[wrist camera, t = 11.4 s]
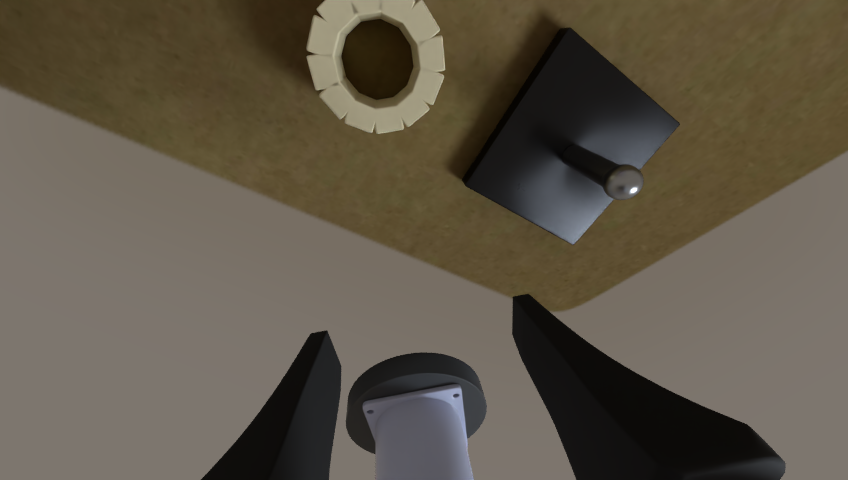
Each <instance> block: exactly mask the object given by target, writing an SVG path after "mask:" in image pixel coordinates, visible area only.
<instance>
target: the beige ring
mask: <svg viewBox="0 0 848 480" xmlns="http://www.w3.org/2000/svg"><path fill="white" fill-rule="evenodd" d="M414 3H415V0H324V1H323V2H322V3H321V4H320V5H319V6H318V7H317V11H318V13H319V14H320V15H321V16H322V18H321V17H319V16H317V15H314V16H313V18H312V23H311V28H310V33H309V37H308V42H307V47H306V49H307V51H309V52H311V53H313V54H314V55H307V56H306V58H307V62H308V65H309V69H310V73H311V76H312V80H313V83H314V87H315V90H323V89H324V90H323V91H322V92H321V93H320V94H319V97H320V98H321V99H322V100H323V101H324V103H325V104H326V105H327V106H328V107H329V108H330V109H331V110H332V112H333V113H334V114H335V115H336V116H337V117H338V118H339V119H342V118H343V117H344V116H345V115H346V117H345V121H344V123H345V124H348V125H350V126H353V127H356V128H358V129H361V130H363V131H366V132H369V133H372V132H373V129H374V126H375V131H376V133H377V134H380V133H386V132H392V131H398V130H403V128H404V126H403V122H404V124H405V125H406V126H407V127H409V126H411V125H412V124H413V123H414V122H415V121H417V120H418V119H419V118H420V117H421V116H423V115H424V114H425V113H426V112H427V111H429V107H428V105H427V104H426V103H428V104H431V105H433V104H434V101H435V99H436V96H437V94H438V91H439V89H440V86H441V84H442V81H443V79H444V75H442V74H440V73H438V72H439V71H444V70H445V61H444V49H443V37H442V36H435V35H436V34H437V33H438V32H439V31H440V28H439V26H438V25H437V23H436V21H435V20H434V18H433V16H432V15H431V13H430V12H429V10H428V8H427V7H426V5H425V3H424V2H423V0H419V1H418V2H417V3H416V4H415V5H414ZM376 19H382V20H384V21H386V22H388V23H390V24H392V25H394V26H396V27H398V28H399V29H400V30H401V32H402V33H403V35H404V36H405V38H406V39H407V41H408V42H409V44H410V45H411V51H412V59H413V66H414V67H413V70H412V72H411V75H410V78H409V81H408V84H407V86H406V87H404V88H403V89H402V90H401V91H400V92H399V93H398V94H396V95H395V96H394V97H392V98H385V99H379V100H375V99H373V98H370V97H368V96H365V95H363V94H361V93H359V92H358V91H357V90H356V89H355V88H354V86H353V85H352V84H351V83H350V81H349V80H348V79H347V78H346V75H345V70H344V66H343V61H342V57H341V55H342V51H343V47H344V44H345V40H346V36H347V35H348V34H349V33H350V32H351V31H352V30H353V29H354V28H355V27H356V26H357V25H358V24H359V23H360V22H362V21H369V20H376ZM425 102H426V103H425Z"/></svg>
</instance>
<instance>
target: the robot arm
mask: <svg viewBox="0 0 848 480" xmlns="http://www.w3.org/2000/svg"><path fill="white" fill-rule="evenodd" d="M512 334H513V337H514V340H515V343H516V346H517V348H518V351H519V354H520V356H521V359H522V361H523V363H524V365H525V366H526V369H527V371H528V373H529V374H530V377H531V378H532V380H533V382H534V384H535V386H536V388H537V390H538V392H539V394H540V396H541V398H542V400H543V402H544V404H545V406H546V408H547V410H548V411H549V414H550V416H551V418H552V420H553V422H554V424H555V427H556V429H557V432H558V434H559V437H560V439H561V441H562V444H563V446H564V449H565V451H566V454H567V456H568V459H569V462H570V464H571V466H572V469H573V472H574V475H575V477H576V480H780V479H781V477H782V476H783V474H784V473H785V462H784V461H783V460H782V459H781V457H780V456H779V455H778V454H777V453H776V452H775V451H774V450H773V449H772V448H771V447H770V446H769V445H768V444H767V443H766V442H765V441H764V440H763V439H762V438H761V437H760V436H759V435H758V434H757V433H756V432H755V431H754V430H753V429H752V428H751V427H749V426H748V425H747V424H745V423H742V422H740V421H737V420H734V419H732V418H730V417H728V416H725V415H723V414H720V413H718V412H715V411H713V410H711V409H708V408H705V407H703V406H701V405H699V404H697V403H695V402H692V401H690V400H688V399H686V398H684V397H682V396H680V395H677V394H675V393H673V392H671V391H669V390H667V389H665V388H663V387H661V386H659V385H657V384H655V383H654V382H652V381H650V380H648V379H646V378H644V377H642V376H640V375H639V374H637V373H635V372H633V371H632V370H630V369H628V368H626V367H624V366H623V365H622V364H620V363H618V362H617V361H615V360H613V359H612V358H610V357H609V356H607V355H606V354H604V353H603V352H601V351H600V350H598V349H597V348H595V347H594V346H593V345H591V344H590V343H588V342H587V341H586V340H584V339H583V338H581V337H580V336H579V335H577V334H576V333H575V332H574V331H572V330H571V329H570V328H569V327H567V326H566V325H565V324H563V323H562V322H561V321H560V320H558V319H557V318H556V317H555V316H554V315H553V314H551V313H550V312H549V311H548V310H547V309H545V308H544V307H543V306H542V305H541V304H540V303H539V302H537V301H536V300H535V299H534V298H533V297H532V296H530V295H529V294H525V295H520V296H514V297H513V329H512ZM340 391H341V365H340V362H339V359H338V357H337V354H336V352H335V349H334V346H333V344H332V341H331V339H330V337H329V334H328V331H322V332H316V333H311V334H310V336H309V337H308V339H307V340H306V342H305V344H304V345H303V347H302V349H301V350H300V352H299V354H298V355H297V357H296V359H295V360H294V362H293V363H292V365H291V367H290V368H289V370H288V371H287V373H286V374H285V376H284V377H283V379H282V380H281V382H280V384H279V385H278V387H277V388H276V390H275V391H274V392H273V394H272V395H271V397H270V398H269V399H268V401H267V402H266V404H265V405H264V406H263V408H262V409H261V411H260V412H259V413H258V415H257V416H256V417H255V419H254V420H253V421H252V422H251V424H250V425H249V426H248V427H247V429H246V430H245V431H244V432H243V434H242V435H241V436H240V437H239V438H238V440H237V441H236V442H235V443H234V444H233V445H232V447H231V448H230V449H229V450H228V451H227V452H226V453H225V454H224V455H223V457H222V458H221V459H220V460H219V461H218V462H217V463H216V464H215V465H214V467H212V469H211V470H210V471H209V472H208V473H207V474H206V475H205V476H204V477H203V478H202V479H201V480H329V468H330V460H331V452H332V446H333V439H334V433H335V426H336V420H337V413H338V406H339V399H340ZM363 411H364V414H365V416H366V419H367V422H368V424H369V427H370V429H371V432H372V435H373V437H374V440H375V442H376V451H375V455H376V456H375V462H376V463H375V480H474V479H473V474H472V469H471V465H470V460H469V456H468V451H467V447H468V444H467V434H466V425H465V417H464V408H463V399H462V390H461V386H460V385H459V384H451V385H446V386H441V387H435V388H430V389H425V390H420V391H414V392H409V393H404V394H399V395H393V396H388V397H383V398H378V399H372V400H367V401H365V402H364V403H363Z"/></svg>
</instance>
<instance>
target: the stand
mask: <svg viewBox="0 0 848 480" xmlns="http://www.w3.org/2000/svg"><path fill="white" fill-rule="evenodd" d="M679 125H680V123H679V122H678V121H676V120H675V119H674V118H673V117H672V116H671V115H670V114H668V113H667V112H666V111H665V110H664V109H663V108H662V107H660V106H659V105H658V104H657V103H656V102H655V101H654V100H652V99H651V98H650V97H649V96H648V95H647V94H646V93H644V92H643V91H642V90H641V89H640V88H639V87H638V86H636V85H635V84H634V83H633V82H632V81H631V80H630V79H628V78H627V77H626V76H625V75H624V74H623V73H622V72H620V71H619V70H618V69H617V68H616V67H615V66H614V65H612V64H611V63H610V62H609V61H608V60H607V59H606V58H604V57H603V56H602V55H601V54H600V53H599V52H598V51H596V50H595V49H594V48H593V47H592V46H591V45H590V44H588V43H587V42H586V41H585V40H584V39H583V38H582V37H580V36H579V35H578V34H577V33H576V32H575V31H574V30H572V29H571V28H561V29H560V30H559V31H558V33H557V34H556V36H555V37H554V39H553V40H552V42H551V43H550V45H549V47H548V48H547V50H546V51H545V53H544V54H543V56H542V57H541V59H540V60H539V62H538V63H537V65H536V67H535V68H534V70H533V71H532V73H531V74H530V76H529V77H528V79H527V80H526V82H525V83H524V85H523V87H522V88H521V90H520V91H519V93H518V94H517V96H516V97H515V99H514V100H513V102H512V103H511V105H510V107H509V108H508V110H507V111H506V113H505V114H504V116H503V117H502V119H501V120H500V122H499V123H498V125H497V127H496V128H495V130H494V131H493V133H492V134H491V136H490V137H489V139H488V140H487V142H486V143H485V145H484V147H483V148H482V150H481V151H480V153H479V154H478V156H477V157H476V159H475V160H474V162H473V163H472V165H471V167H470V168H469V170H468V171H467V173H466V174H465V176H464V177H463V179H462V181H463V183H464V184H465V186H467V187H468V188H470V189H472V190H474V191H476V192H477V193H479V194H481V195H483V196H485V197H487V198H488V199H490V200H492V201H494V202H496V203H497V204H499V205H501V206H503V207H505V208H507V209H508V210H510V211H512V212H514V213H516V214H517V215H519V216H521V217H523V218H525V219H527V220H528V221H530V222H532V223H534V224H536V225H537V226H539V227H541V228H543V229H545V230H547V231H548V232H550V233H552V234H554V235H556V236H557V237H559V238H561V239H563V240H565V241H567V242H568V243H570V244H572V245H574V244H575V243H576V241H577V240H578V239H579V238H580V237H581V236H582V235H583V234H584V232H585V231H586V230H587V229H588V228H589V227H590V226H591V224H592V223H593V222H594V221H595V220H596V219H597V218H598V217H599V215H600V214H601V213H602V212H603V211H604V210H605V209H606V207H607V206H608V205H609V204H610V203H611V202H612V201H613V200H614V199H616V200H626V199H629V198H632V197H634V196H635V195H636V194H638V193H639V191H640V190H641V188H642V186H643V182H644V180H643V175H642V173H641V171H640V169H641V168H642V167H643V166H644V164H645V163H646V162H647V161H648V160H649V159H650V158H651V157H652V155H653V154H654V153H655V152H656V151H657V150H658V149H659V147H660V146H661V145H662V144H663V143H664V142H665V141H666V140H667V138H668V137H669V136H670V135H671V134H672V133H673V132H674V130H675V129H676V128H677V127H678V126H679Z"/></svg>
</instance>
